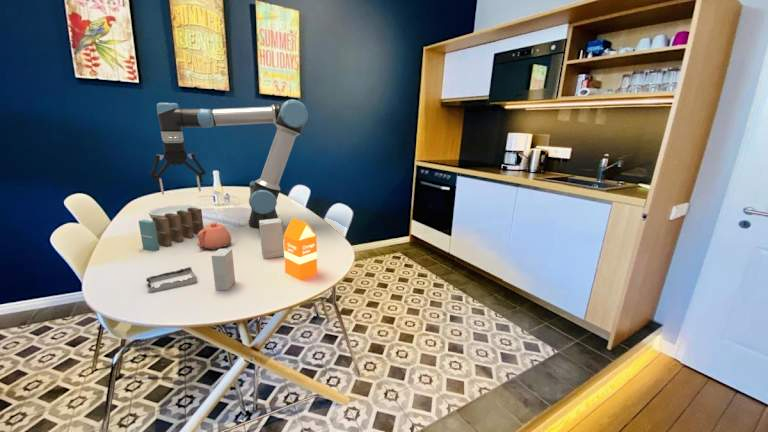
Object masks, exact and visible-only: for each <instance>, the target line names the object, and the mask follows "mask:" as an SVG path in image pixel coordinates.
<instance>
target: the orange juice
mask: <svg viewBox="0 0 768 432" xmlns="http://www.w3.org/2000/svg"><path fill="white" fill-rule="evenodd" d="M317 241H318V239H317V235H316V234H315V232H314V231H313V229H312V228H311V226H310V225H309V223H308V222H306V221H302V220H300V219H298V218H295V217H292V218H291V219H290V222H289V224H288V226H287V227H286V229H285V231H284V233H283V247H284V256H283V257H284V272H285V273H286V274H288V275H289V276H291V277H293V278H295V279H297V280H298V281H302V280H304V279H307V278H310V277H311V276H314V275H317V274H318V250H317V249H318V245H317V243H318V242H317Z"/></svg>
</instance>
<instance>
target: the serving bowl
mask: <svg viewBox="0 0 768 432" xmlns="http://www.w3.org/2000/svg"><path fill="white" fill-rule="evenodd" d="M187 208H198V207H197V206H196V205H192V204H175V205H165V206H161V207H157V208H153V209H151V210H149V212H148V216H149V217H150V218H151V221H153V219H152V217H156V216H159V217H164V218H165V214H168V213H172V214H177V211H179V210H182V211H188V209H187Z"/></svg>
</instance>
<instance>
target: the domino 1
mask: <svg viewBox="0 0 768 432" xmlns="http://www.w3.org/2000/svg"><path fill="white" fill-rule="evenodd" d="M138 226H139V232H140V236H141V244H142V248H143V249H142V250H145V251H151V252H156V251H160V248H159V246H160V245H158V240H157V233H156V227H155V222H154V221H153V220H148V219H141V220H138Z"/></svg>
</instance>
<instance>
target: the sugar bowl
mask: <svg viewBox="0 0 768 432" xmlns="http://www.w3.org/2000/svg"><path fill="white" fill-rule="evenodd" d="M197 238H198V242H197V246H198V247H200V248H201V247H202V248H204V249H212V250H218V249H221V248H223V247H226V246H228V244H230V243H231V241H232V236H231V234H230V231H229V230H228V229H227V227H226V226H224V225H223V224H220V223H217V222H211V223H209V224H208V225H205V226H203V230H201V231H200V232H199V233H198V235H197Z"/></svg>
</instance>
